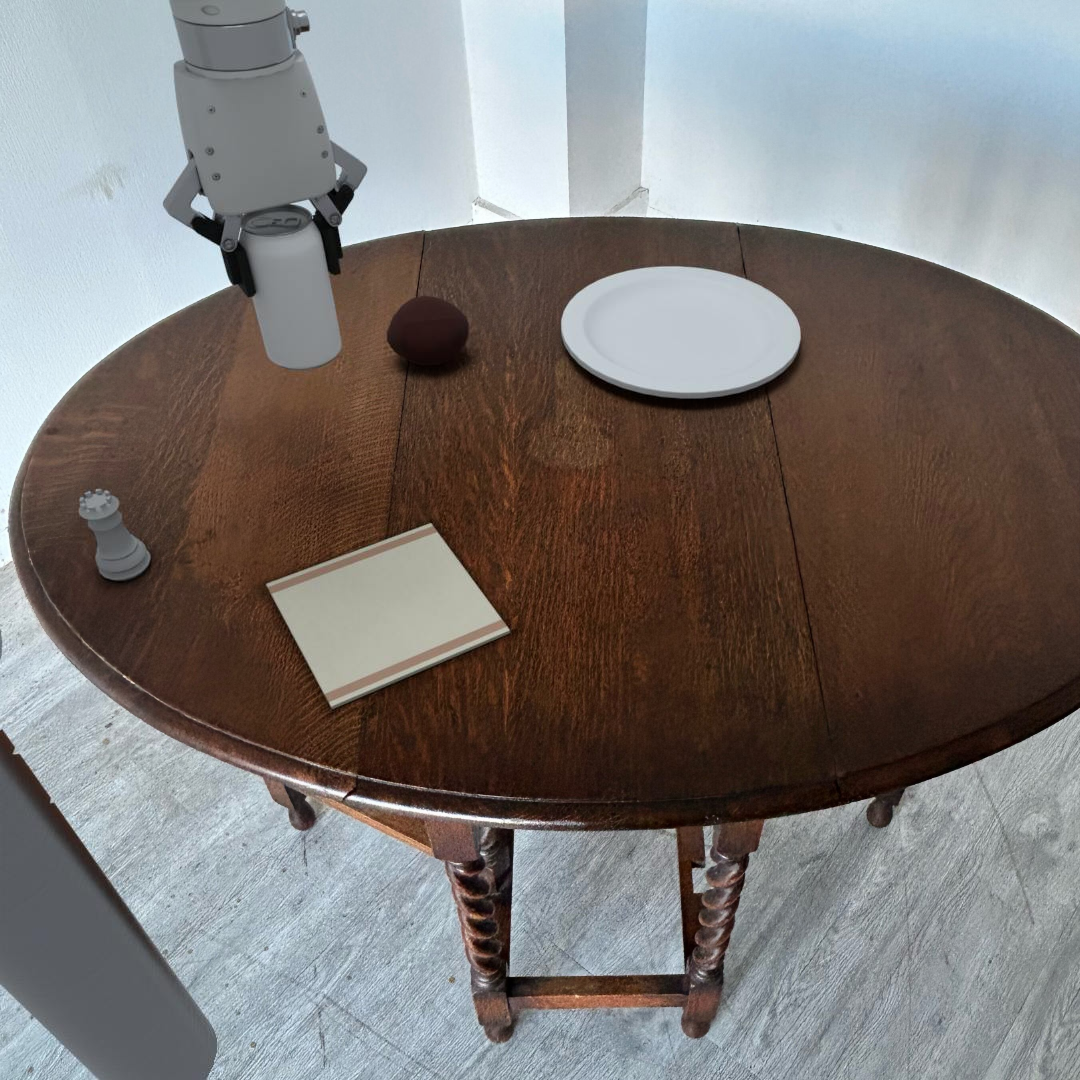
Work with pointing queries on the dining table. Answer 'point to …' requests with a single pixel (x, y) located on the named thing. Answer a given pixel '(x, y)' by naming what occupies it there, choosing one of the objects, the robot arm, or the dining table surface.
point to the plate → (680, 332)
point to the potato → (428, 331)
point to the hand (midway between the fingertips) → (288, 277)
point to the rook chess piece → (113, 538)
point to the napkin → (384, 613)
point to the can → (291, 287)
